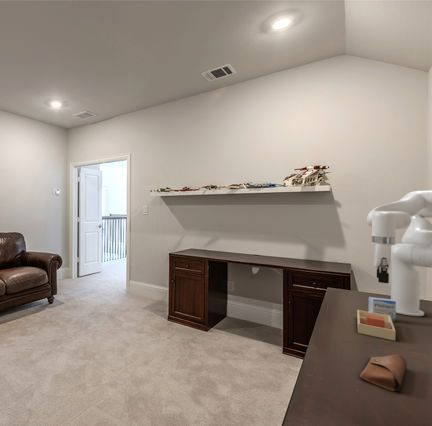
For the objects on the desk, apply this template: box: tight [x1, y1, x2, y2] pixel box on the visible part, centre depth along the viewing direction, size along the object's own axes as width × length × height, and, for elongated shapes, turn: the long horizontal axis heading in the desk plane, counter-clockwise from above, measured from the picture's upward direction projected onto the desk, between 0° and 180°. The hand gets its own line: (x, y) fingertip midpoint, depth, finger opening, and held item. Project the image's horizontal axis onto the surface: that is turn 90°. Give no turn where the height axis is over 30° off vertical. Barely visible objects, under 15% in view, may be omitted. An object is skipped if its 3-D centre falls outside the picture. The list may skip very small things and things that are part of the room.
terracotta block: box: [366, 314, 385, 328], centre depth 115 cm, size 5×5×5 cm
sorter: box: [356, 309, 396, 342], centre depth 119 cm, size 20×10×4 cm, turn 141°
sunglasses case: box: [359, 354, 408, 392], centre depth 85 cm, size 18×7×7 cm
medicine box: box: [368, 296, 397, 323], centre depth 129 cm, size 8×4×9 cm, turn 68°
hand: (382, 280), depth 128 cm, fingers open, 9 cm apart
